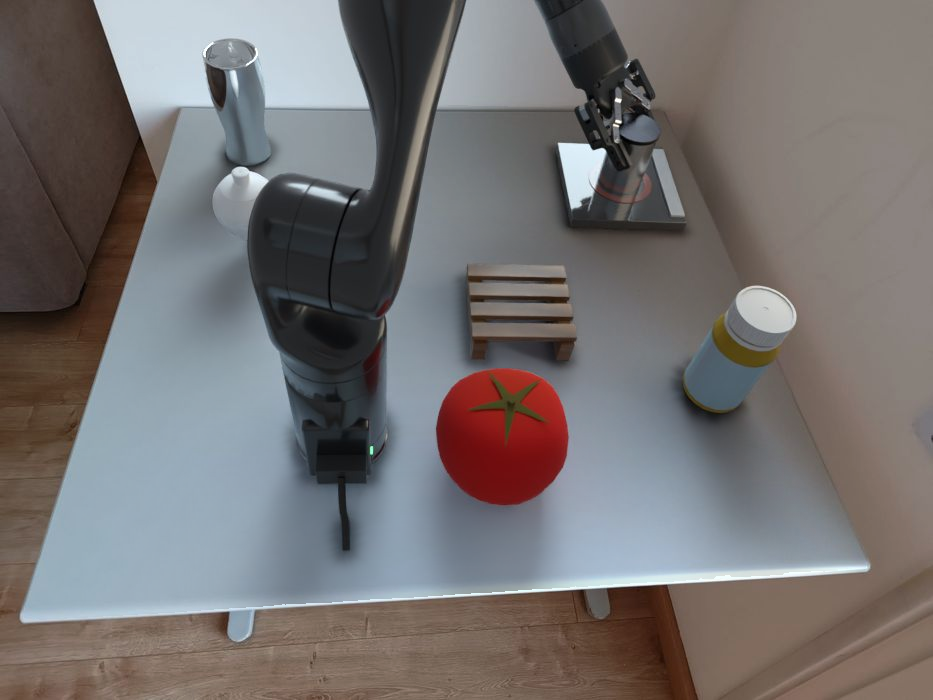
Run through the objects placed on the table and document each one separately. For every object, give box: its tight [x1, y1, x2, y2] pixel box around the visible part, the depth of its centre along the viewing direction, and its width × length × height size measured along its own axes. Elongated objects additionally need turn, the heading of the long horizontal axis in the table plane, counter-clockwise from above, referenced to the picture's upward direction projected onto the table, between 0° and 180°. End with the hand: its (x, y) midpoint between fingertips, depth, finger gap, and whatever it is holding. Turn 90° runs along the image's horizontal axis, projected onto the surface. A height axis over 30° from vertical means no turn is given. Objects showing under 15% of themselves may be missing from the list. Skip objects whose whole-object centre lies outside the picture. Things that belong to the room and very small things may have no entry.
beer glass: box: [201, 38, 272, 167], centre depth 93 cm, size 7×7×15 cm
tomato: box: [435, 367, 570, 507], centre depth 70 cm, size 13×14×12 cm
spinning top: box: [211, 166, 270, 242], centre depth 85 cm, size 8×8×12 cm
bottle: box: [682, 285, 798, 414], centre depth 77 cm, size 7×7×15 cm
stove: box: [555, 142, 688, 231], centre depth 101 cm, size 16×16×2 cm
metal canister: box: [598, 112, 661, 195], centre depth 97 cm, size 6×6×9 cm
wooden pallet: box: [465, 263, 578, 361], centre depth 85 cm, size 12×12×4 cm
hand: (639, 153), depth 96 cm, fingers open, 8 cm apart
